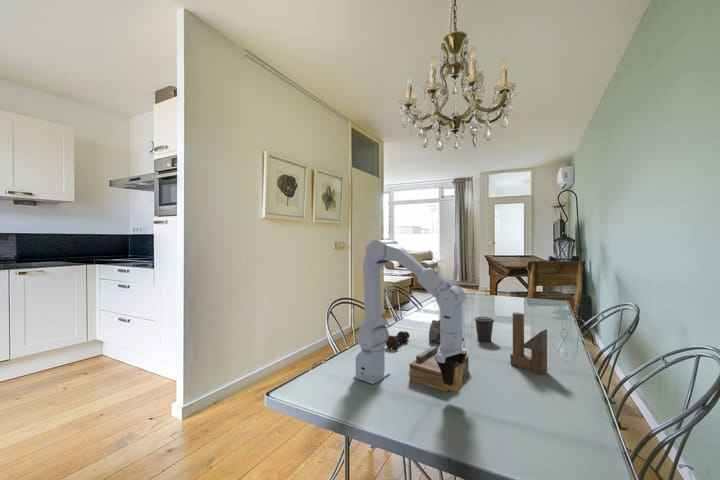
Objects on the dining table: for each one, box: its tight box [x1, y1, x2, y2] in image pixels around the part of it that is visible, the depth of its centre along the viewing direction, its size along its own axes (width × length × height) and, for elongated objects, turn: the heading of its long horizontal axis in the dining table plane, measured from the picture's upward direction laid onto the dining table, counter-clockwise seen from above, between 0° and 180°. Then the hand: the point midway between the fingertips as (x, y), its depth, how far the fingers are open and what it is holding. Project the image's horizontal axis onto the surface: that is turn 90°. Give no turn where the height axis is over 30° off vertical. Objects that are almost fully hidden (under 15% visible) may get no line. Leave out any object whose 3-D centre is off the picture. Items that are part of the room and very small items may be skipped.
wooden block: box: [510, 311, 548, 376], centre depth 106 cm, size 4×11×18 cm, turn 34°
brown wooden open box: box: [409, 359, 470, 393], centre depth 100 cm, size 18×12×4 cm, turn 141°
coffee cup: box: [474, 316, 495, 343], centre depth 135 cm, size 8×8×10 cm
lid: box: [409, 345, 470, 376], centre depth 100 cm, size 18×13×5 cm
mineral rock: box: [428, 319, 465, 343], centre depth 132 cm, size 13×11×10 cm
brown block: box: [441, 363, 463, 392], centre depth 84 cm, size 4×4×6 cm
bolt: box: [385, 330, 410, 350], centre depth 132 cm, size 6×5×15 cm
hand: (451, 381), depth 84 cm, fingers closed on brown block, 4 cm apart
